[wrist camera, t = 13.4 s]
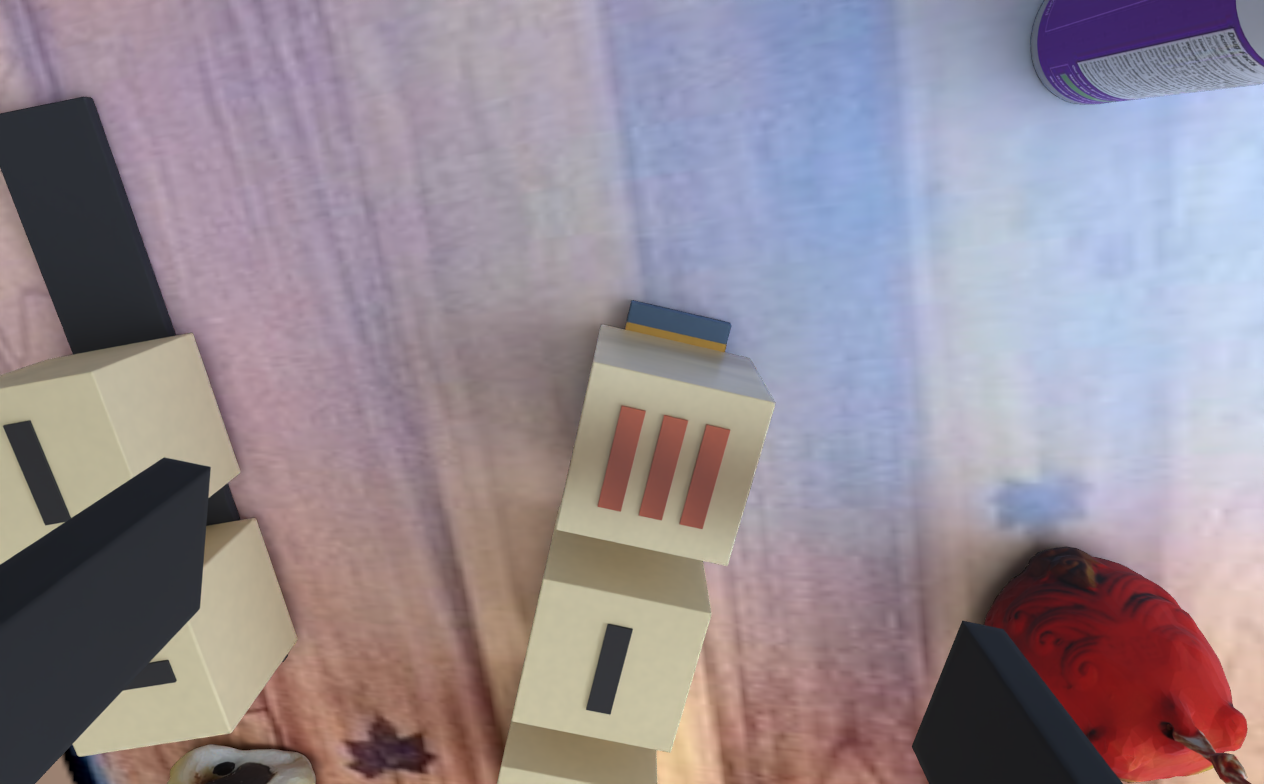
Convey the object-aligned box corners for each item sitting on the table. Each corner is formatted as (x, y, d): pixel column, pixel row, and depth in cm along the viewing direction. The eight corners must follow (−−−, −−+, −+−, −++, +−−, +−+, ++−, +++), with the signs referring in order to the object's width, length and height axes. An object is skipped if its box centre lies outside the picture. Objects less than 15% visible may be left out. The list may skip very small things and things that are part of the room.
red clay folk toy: (985, 695, 36) (1217, 1052, 22) (947, 565, 34) (1175, 859, 20) (1153, 646, 35) (1512, 981, 21) (1124, 509, 33) (1495, 773, 19)
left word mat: (-35, 123, 29) (-221, 112, 23) (118, 92, 29) (-27, 72, 23) (182, 672, 36) (85, 782, 30) (309, 652, 36) (239, 758, 29)
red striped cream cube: (601, 323, 31) (592, 362, 25) (750, 357, 31) (776, 403, 25) (569, 464, 32) (554, 531, 26) (711, 495, 33) (728, 568, 27)
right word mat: (606, 294, 31) (598, 328, 25) (754, 328, 31) (784, 370, 25) (497, 784, 38) (468, 910, 31) (620, 808, 38) (616, 938, 32)
